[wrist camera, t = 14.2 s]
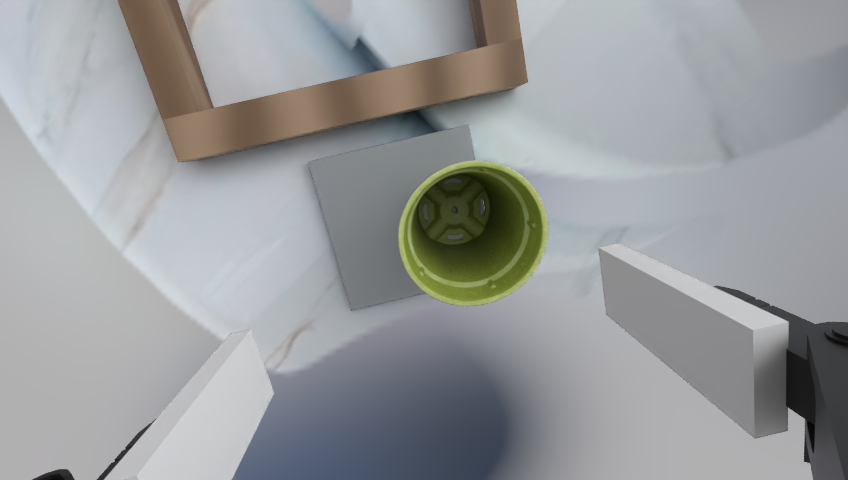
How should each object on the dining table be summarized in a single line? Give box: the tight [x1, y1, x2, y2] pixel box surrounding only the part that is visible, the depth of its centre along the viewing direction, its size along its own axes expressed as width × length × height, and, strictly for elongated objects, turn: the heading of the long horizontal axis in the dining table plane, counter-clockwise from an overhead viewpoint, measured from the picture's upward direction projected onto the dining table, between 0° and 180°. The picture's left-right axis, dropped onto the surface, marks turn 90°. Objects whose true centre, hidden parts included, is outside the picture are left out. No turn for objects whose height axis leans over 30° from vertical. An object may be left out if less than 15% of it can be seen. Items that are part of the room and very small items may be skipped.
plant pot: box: [398, 161, 548, 306], centre depth 29 cm, size 9×9×9 cm
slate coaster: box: [308, 125, 485, 311], centre depth 34 cm, size 13×13×1 cm
